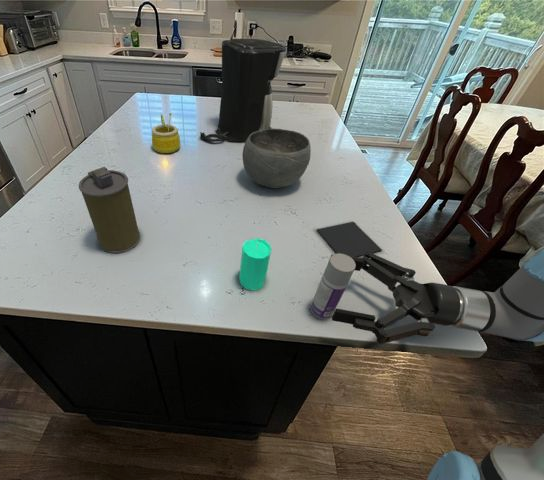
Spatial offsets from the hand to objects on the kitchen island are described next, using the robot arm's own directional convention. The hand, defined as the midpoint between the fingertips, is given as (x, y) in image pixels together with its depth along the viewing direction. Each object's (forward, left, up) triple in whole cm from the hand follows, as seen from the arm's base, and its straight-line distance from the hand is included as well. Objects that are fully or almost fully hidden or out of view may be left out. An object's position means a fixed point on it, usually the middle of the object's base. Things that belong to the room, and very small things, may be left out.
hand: (331, 284), depth 57 cm
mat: (+17, -19, -8) cm, 27 cm away
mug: (+84, +17, -9) cm, 86 cm away
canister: (+35, +39, -9) cm, 53 cm away
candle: (+12, +11, -9) cm, 18 cm away
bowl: (+50, -12, -9) cm, 52 cm away
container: (0, 0, -9) cm, 9 cm away
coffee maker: (+93, -15, -9) cm, 94 cm away
